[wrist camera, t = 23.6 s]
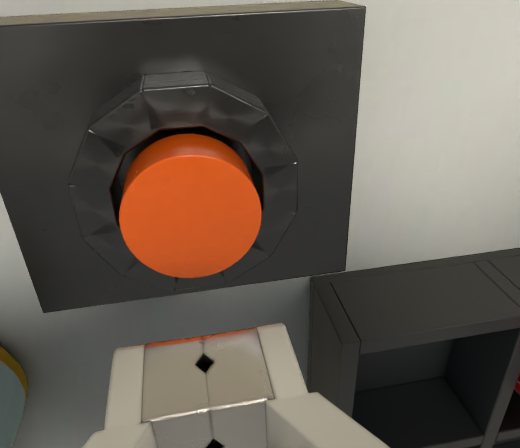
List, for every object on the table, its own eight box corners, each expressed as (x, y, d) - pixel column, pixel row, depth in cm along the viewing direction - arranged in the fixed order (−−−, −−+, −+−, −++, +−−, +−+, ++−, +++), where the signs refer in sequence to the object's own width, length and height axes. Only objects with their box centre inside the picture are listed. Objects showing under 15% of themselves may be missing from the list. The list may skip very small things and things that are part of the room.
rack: (619, 233, 25) (706, 285, 21) (505, 497, 38) (545, 559, 34) (310, 276, 22) (341, 344, 18) (301, 543, 35) (319, 616, 31)
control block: (337, -1, 16) (391, 11, 12) (325, 237, 21) (361, 298, 17) (-24, 18, 14) (-91, 38, 11) (57, 272, 19) (30, 348, 16)
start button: (249, 127, 14) (260, 147, 12) (254, 239, 16) (264, 269, 14) (111, 139, 13) (104, 162, 12) (135, 255, 15) (132, 287, 14)
